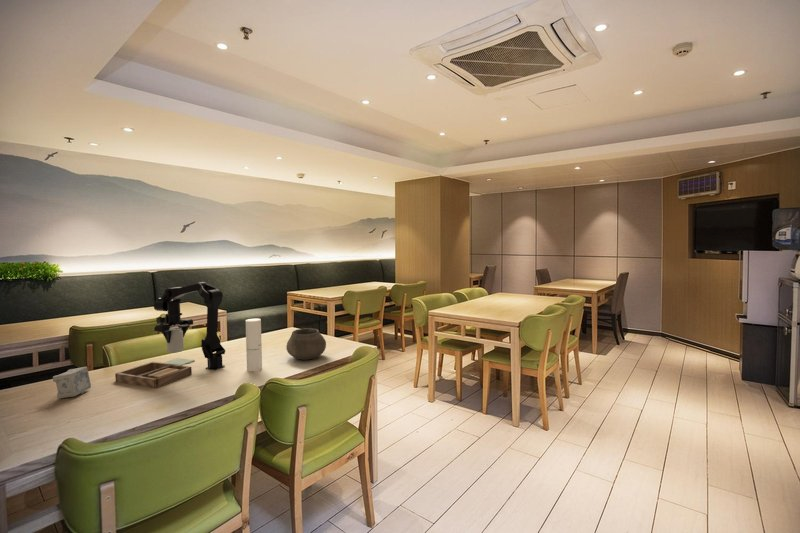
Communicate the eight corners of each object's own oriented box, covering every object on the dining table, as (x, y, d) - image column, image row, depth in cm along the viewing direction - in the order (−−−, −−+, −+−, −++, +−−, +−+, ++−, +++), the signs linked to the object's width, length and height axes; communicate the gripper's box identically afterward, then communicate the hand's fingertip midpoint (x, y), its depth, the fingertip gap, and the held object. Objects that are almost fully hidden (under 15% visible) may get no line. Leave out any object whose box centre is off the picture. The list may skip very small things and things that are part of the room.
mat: (194, 361, 205) (194, 360, 205) (174, 368, 194) (174, 367, 194) (177, 359, 209) (177, 357, 209) (157, 365, 198) (157, 364, 198)
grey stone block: (71, 390, 165) (70, 366, 165) (92, 389, 166) (90, 366, 166) (53, 399, 156) (51, 374, 155) (75, 399, 156) (73, 374, 156)
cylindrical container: (265, 367, 195) (264, 319, 193) (255, 372, 188) (254, 321, 187) (253, 366, 197) (252, 318, 196) (243, 370, 191) (242, 320, 189)
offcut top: (179, 372, 181) (179, 369, 181) (159, 380, 171) (159, 376, 171) (168, 371, 184) (168, 367, 183) (147, 378, 174) (147, 375, 173)
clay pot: (332, 359, 209) (332, 332, 208) (294, 366, 197) (293, 337, 196) (317, 350, 227) (316, 325, 226) (281, 356, 215) (280, 329, 214)
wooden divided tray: (191, 375, 184) (191, 366, 184) (156, 388, 167) (155, 379, 167) (153, 369, 192) (153, 361, 192) (115, 382, 175) (115, 373, 175)
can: (176, 353, 197) (175, 330, 196) (163, 352, 198) (162, 329, 197) (187, 349, 204) (186, 327, 203) (174, 348, 205) (173, 326, 205)
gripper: (177, 307, 211) (178, 335, 212) (145, 314, 194) (147, 344, 195) (193, 308, 208) (194, 337, 209) (162, 315, 190) (163, 346, 191)
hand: (175, 341), depth 201 cm, fingers closed on can, 7 cm apart
